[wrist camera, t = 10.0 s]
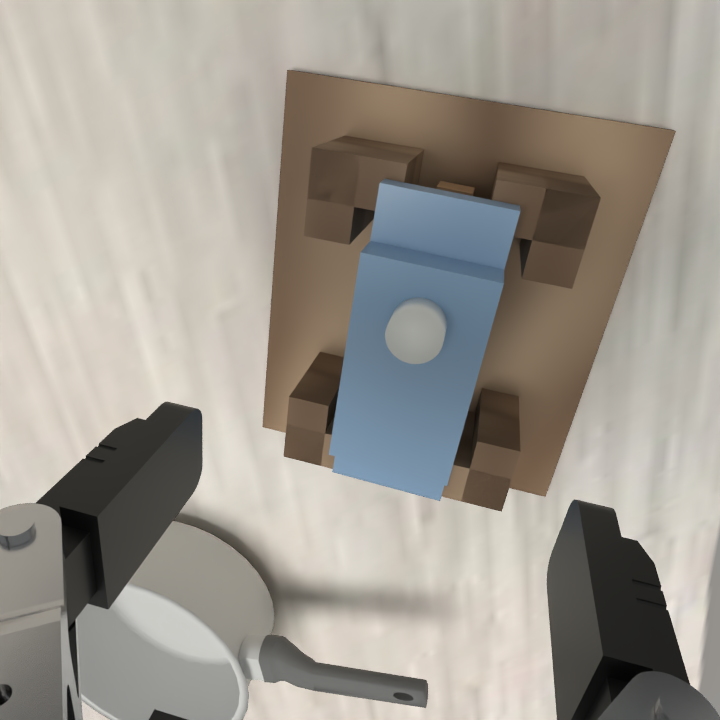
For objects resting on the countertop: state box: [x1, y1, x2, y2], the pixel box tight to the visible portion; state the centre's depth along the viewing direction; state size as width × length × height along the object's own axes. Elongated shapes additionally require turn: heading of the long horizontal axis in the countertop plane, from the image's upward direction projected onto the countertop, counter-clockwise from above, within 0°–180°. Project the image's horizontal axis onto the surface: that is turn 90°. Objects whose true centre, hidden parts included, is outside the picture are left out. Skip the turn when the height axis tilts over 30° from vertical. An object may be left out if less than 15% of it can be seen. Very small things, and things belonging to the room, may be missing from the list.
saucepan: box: [76, 521, 428, 720], centre depth 31 cm, size 12×20×6 cm, turn 99°
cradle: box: [263, 70, 676, 511], centre depth 22 cm, size 13×15×4 cm
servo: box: [329, 179, 520, 501], centre depth 20 cm, size 4×10×7 cm, turn 171°
